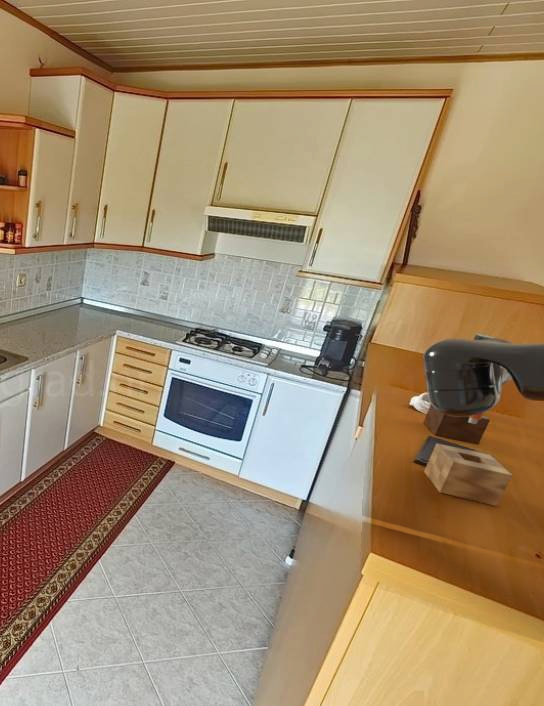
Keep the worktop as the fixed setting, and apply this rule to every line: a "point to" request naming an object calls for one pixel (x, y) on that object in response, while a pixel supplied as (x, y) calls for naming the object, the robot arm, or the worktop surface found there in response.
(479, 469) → the stand
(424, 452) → the tablet
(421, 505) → the worktop surface
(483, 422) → the block
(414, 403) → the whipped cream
